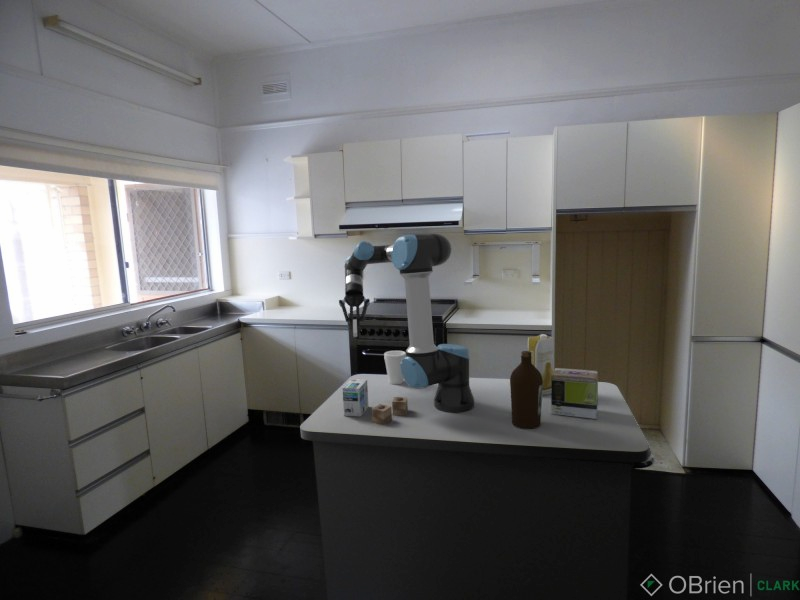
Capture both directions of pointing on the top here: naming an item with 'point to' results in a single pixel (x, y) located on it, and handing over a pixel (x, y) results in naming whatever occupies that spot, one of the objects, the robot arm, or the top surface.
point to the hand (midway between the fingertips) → (355, 335)
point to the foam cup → (394, 366)
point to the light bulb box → (355, 397)
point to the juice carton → (542, 358)
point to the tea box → (574, 392)
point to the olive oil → (526, 393)
